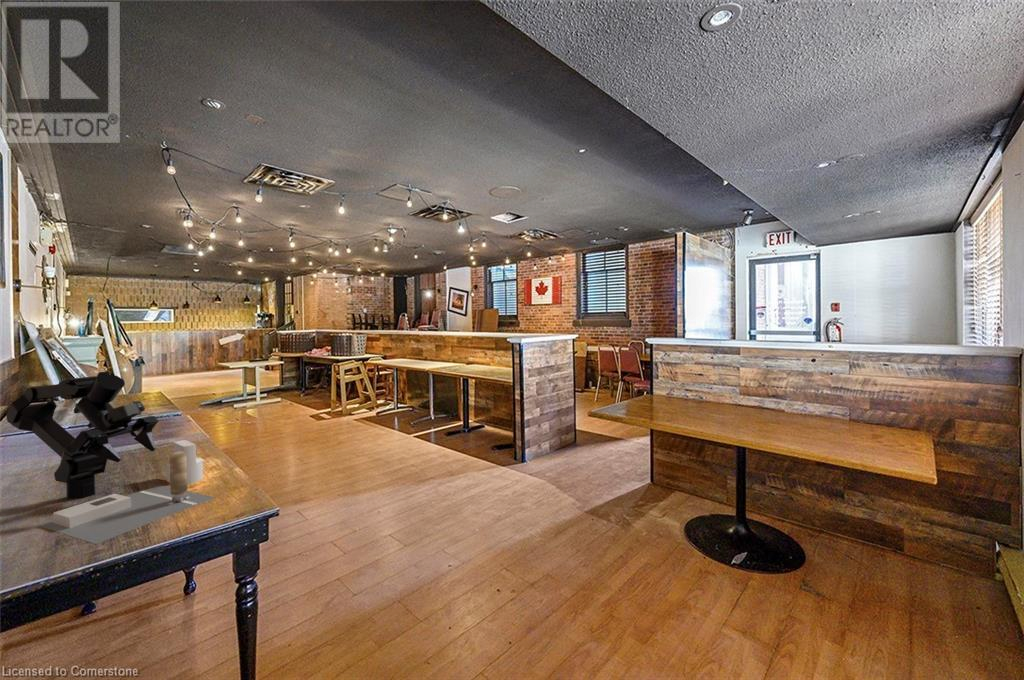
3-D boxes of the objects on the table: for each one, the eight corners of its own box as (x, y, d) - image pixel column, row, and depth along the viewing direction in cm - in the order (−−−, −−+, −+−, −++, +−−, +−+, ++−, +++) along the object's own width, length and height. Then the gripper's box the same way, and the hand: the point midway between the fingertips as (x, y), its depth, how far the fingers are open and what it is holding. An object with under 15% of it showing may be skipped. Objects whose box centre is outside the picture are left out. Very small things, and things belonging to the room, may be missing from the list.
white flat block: (53, 522, 100) (52, 512, 100) (114, 502, 111) (114, 493, 111) (69, 528, 98) (69, 517, 98) (131, 506, 109) (130, 497, 109)
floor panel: (36, 529, 99) (35, 524, 99) (159, 489, 123) (159, 484, 123) (95, 549, 91) (95, 543, 91) (215, 501, 115) (215, 497, 115)
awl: (167, 503, 111) (166, 455, 110) (175, 498, 114) (174, 451, 114) (182, 502, 112) (181, 455, 111) (190, 497, 115) (189, 450, 115)
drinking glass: (208, 479, 131) (207, 442, 131) (173, 488, 124) (172, 449, 123) (196, 473, 136) (195, 437, 136) (162, 482, 129) (161, 444, 128)
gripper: (78, 400, 103) (118, 445, 102) (152, 388, 122) (186, 426, 121) (52, 430, 105) (92, 475, 104) (129, 413, 123) (163, 452, 122)
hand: (137, 455), depth 113 cm, fingers open, 9 cm apart
